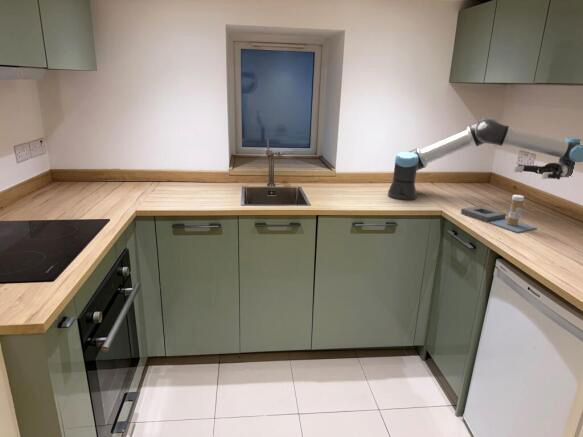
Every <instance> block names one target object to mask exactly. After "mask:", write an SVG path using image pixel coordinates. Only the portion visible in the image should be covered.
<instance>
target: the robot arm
mask: <svg viewBox="0 0 583 437" xmlns="http://www.w3.org/2000/svg"><path fill="white" fill-rule="evenodd" d="M572 137H573V136H571V137H566V138H565V139H564V140H560V139H555V138H551V137H547V136H542V135H539V134H535V133H530V132H525V131H523V130H522V131H521V130H516V129H512V128H511V127H510V125H509V126H508V125H505V124H502V123H500V122H498V120H496V119H494V118H492V117H484V118H482V119H480V120H478V121H477V122H474V123H472V124H470V125H468V126H467V128H466V129H465V130H463V131H461V132H458V133H456V134H454V135H451V136H449V137H447V138H444V139H442V140H440V141H438V142H435V143H433V144H431V145H428V146H426V147H423V148H420V147H417V148H415V149H413V150H412V149H411V150H409V151H401V152H398V153H397V154H396V156H395V158H394V161H395V162H394V168H393V169H394V170H393V176H392V178H393V179H392V182H391V185H390V187H389V189H388V191H387V196H389V198H392V199H397V200H405V201H406V200H407V201H408V200H409V201H410V200H411V201H412V200H416V199H417V190H416V176H417V171H420V170H422V169H424V168H427V166H428V164H430V163H432V162H434V161H436V160H439V159H442V158H444V157H446V156H448V155H451V154H454V153H456V152H458V151H462V150H464V149H466V148H468V147H471V146H472V147H473V146H474V147H479V146H481V145H483V144H488V145H489V144H490V145H498V146H502V147H503V146H504V145H505V146H506V145H507V146H510V147H514V148H519V149H523V150H527V151H532V152H535V153H540V154H544V155H549V156H552V157H556V158H559V159H558V162H549V163H546V164H545V165H544V166H543V165H542V166H539V165H529V164H528V165H527V164H518V165H516V166H514V167H513V173H523V172H529V173H535V174H539V175H541V179H542V180H546V179H549V180H550V179H554V180H558V181H559V180H560V179H561V178H570V177H569V176H571V175H572V173H573V169H574V165H575V162H577V163H583V145H580V141H581V140H580V139H581V138H580V139H577V138H578V137H573V138H572ZM571 177H572V176H571Z"/></svg>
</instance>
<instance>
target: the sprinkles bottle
mask: <svg viewBox="0 0 583 437" xmlns="http://www.w3.org/2000/svg"><path fill="white" fill-rule="evenodd" d="M511 200H512V201H511V203H510V207H509V208H510V209H509V212H508V217H507V218H508V221H507V224H508V225H511V226H517V225H518V222H519V220H520V216H521V212H522V209H523V208H522V207H523V203H524V202H525V201H524V200H525V196H523V195H522V194H521V195H520V194H513V195H512V197H511Z"/></svg>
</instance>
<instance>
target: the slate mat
mask: <svg viewBox="0 0 583 437" xmlns="http://www.w3.org/2000/svg"><path fill="white" fill-rule="evenodd" d="M507 221H508V217H507V218H505V219H501V220H496V221H491V222H487V223H488V224H489V223H490V224H489V225H493V226H496V227H498V228H501V229H504V230H507V231H510V232H512V233H515V234H519V233H524V232H530V231H533V230H537V227H535V226H534V225H533V226H532V225H529V224H525V223H523V222H520V221H518V225H517V226H511V225H508V224H507Z"/></svg>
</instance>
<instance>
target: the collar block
mask: <svg viewBox="0 0 583 437" xmlns="http://www.w3.org/2000/svg"><path fill="white" fill-rule="evenodd" d="M460 214H461V215H464V216H467V217H469V218H472V219H475V220H478V221H480V220H481V221H480V222H483V221H484V223H488V222H491V221H496V220H501V219H506V217H507V213H505V212H501V211H498V210H495V209H491V208H488V207H485V206H481V205H477V206H471V207H465V208H461V211H460Z"/></svg>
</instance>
